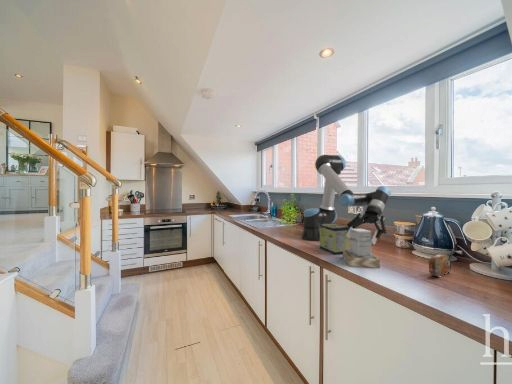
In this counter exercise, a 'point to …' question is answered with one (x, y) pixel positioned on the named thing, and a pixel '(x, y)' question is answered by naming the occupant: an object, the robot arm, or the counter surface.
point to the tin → (439, 265)
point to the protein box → (334, 238)
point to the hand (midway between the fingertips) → (359, 240)
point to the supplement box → (360, 242)
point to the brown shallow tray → (361, 260)
